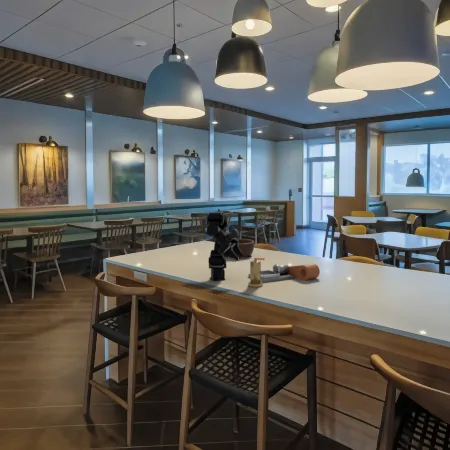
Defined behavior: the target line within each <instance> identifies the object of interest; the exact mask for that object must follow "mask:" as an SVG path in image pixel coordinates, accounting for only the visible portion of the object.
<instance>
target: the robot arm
mask: <svg viewBox="0 0 450 450" xmlns="http://www.w3.org/2000/svg"><path fill="white" fill-rule="evenodd" d="M206 226H207V227H206V233H207V235H208V236H210V237H212V238H213V239H214V246H213V249H211V250H210V255H209V257H208V269H210V277H209V279H210V280H212V281H214V282H217V281H225V280H226V274H225V273H226V271H225V269H227V260H226V257H224V255H225V256H228V257H227V258H229V257H230V259H233V260H235V261H239V259H240V258H238V257H237V256H236V254H237V255H239V256H241V257H242V256H243V254H242V252H241V250H240V248H239V246H238V244H239V242H238V241H239V240H238V239H239V238H238V237H240V236H241V235H240V231H239V230H238V229H236V228H234V229H232V230H231V232H230V233H227V231H228V228H229V218H228V216H226V215H225V212H224V211H223V210H216V211H214V212H213V211H210V212H208V214H207V215H206ZM223 252H224V254H223Z"/></svg>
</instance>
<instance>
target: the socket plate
mask: <svg viewBox="0 0 450 450" xmlns="http://www.w3.org/2000/svg"><path fill="white" fill-rule="evenodd" d="M288 272H289V267H288V264H284V265H279V264H278V263H277V264H276V263H275V264H274V265H272V270H271V269H265V270H264V269H263V270H261V282H262V283H263V284H264V283H270V282H277V281H279V282H280V281H285V280H292V279H293V280H294V279H295V277H294V275H291V274H288ZM247 277H248V278H250V273H248V276H247Z"/></svg>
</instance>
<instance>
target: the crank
mask: <svg viewBox="0 0 450 450" xmlns="http://www.w3.org/2000/svg"><path fill="white" fill-rule="evenodd" d="M288 267H289V272H288V274H291V275H294V279H298V280H299V279H300V280H302V281H308V280H312V279H317V278H318V277H319V276H320V267H319V266H318V264H316V263H312V262H311V263H308V264H300V265H299V264H298V265H291V266H288Z"/></svg>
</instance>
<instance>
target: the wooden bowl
mask: <svg viewBox="0 0 450 450" xmlns="http://www.w3.org/2000/svg"><path fill="white" fill-rule="evenodd" d="M237 239H238V240H239V241H238V242H239V244H238V246H239V248H240V250H241V252H242V254H243V256H242V257H244V258H249V257H251V255H253V252H254V247H255V241H254V240H253V239H248V238H237ZM223 254H224V252H223ZM224 256H225V255H224ZM236 256H237V257H241V256H239V255H237V254H236ZM248 256H249V257H248ZM225 258H229V257H228V256H226V257H225Z"/></svg>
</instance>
